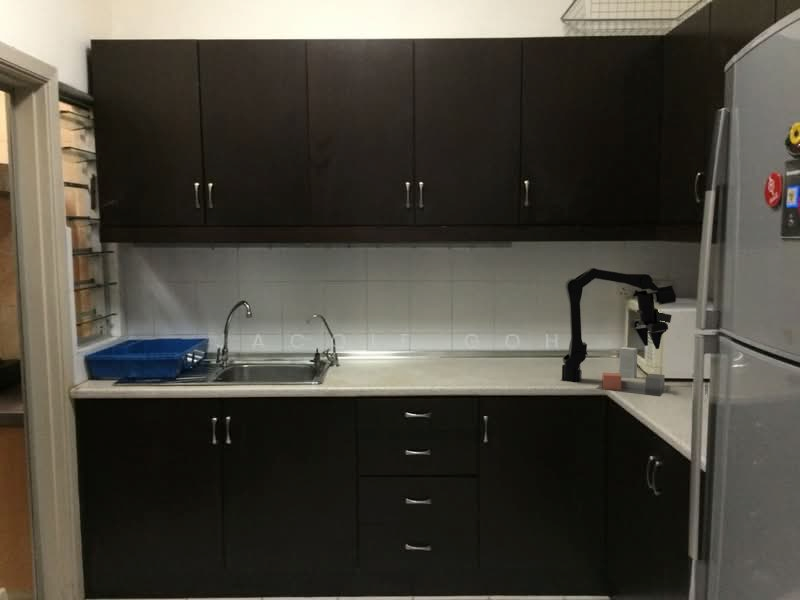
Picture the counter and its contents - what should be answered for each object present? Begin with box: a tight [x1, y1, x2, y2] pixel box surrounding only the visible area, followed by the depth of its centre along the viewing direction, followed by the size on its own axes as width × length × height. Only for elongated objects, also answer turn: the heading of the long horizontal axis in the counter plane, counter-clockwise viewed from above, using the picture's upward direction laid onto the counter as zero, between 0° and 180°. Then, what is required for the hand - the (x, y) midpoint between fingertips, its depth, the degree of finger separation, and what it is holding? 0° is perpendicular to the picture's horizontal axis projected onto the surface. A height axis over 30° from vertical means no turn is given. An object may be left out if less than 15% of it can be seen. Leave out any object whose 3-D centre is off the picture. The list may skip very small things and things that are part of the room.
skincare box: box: [618, 346, 638, 379], centre depth 253 cm, size 6×4×12 cm
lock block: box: [601, 372, 622, 390], centre depth 233 cm, size 6×5×5 cm
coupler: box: [595, 372, 671, 397], centre depth 234 cm, size 22×20×6 cm
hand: (651, 347), depth 241 cm, fingers open, 9 cm apart
